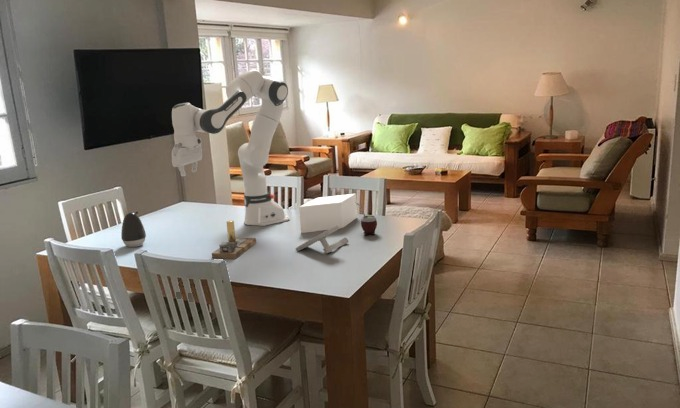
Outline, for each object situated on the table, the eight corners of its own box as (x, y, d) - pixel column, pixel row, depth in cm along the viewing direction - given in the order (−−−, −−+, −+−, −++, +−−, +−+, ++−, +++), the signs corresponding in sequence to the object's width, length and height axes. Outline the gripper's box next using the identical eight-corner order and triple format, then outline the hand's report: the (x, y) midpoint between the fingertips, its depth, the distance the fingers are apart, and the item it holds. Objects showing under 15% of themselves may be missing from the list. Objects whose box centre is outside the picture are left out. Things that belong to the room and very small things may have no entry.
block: (369, 220, 275) (368, 195, 272) (313, 236, 253) (311, 209, 250) (345, 215, 288) (344, 191, 285) (289, 230, 266) (287, 204, 263)
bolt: (232, 243, 239) (229, 219, 237) (238, 243, 238) (236, 219, 236) (221, 250, 230) (219, 226, 227) (228, 250, 229) (226, 226, 227)
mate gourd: (380, 233, 251) (379, 200, 248) (369, 237, 245) (367, 204, 242) (367, 231, 256) (366, 198, 253) (356, 235, 250) (354, 202, 247)
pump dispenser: (151, 242, 257) (147, 209, 254) (139, 249, 247) (134, 215, 244) (131, 241, 259) (126, 209, 256) (118, 248, 249) (113, 215, 246)
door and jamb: (234, 242, 250) (233, 231, 249) (255, 242, 247) (255, 231, 246) (212, 258, 229) (210, 246, 228) (235, 258, 226) (233, 246, 225)
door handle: (304, 265, 232) (337, 248, 220) (295, 248, 233) (327, 229, 220) (329, 252, 246) (361, 235, 234) (320, 236, 246) (352, 218, 234)
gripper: (179, 144, 230) (183, 178, 233) (203, 138, 250) (206, 170, 253) (165, 145, 232) (169, 178, 235) (190, 139, 251) (193, 170, 254)
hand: (189, 174), depth 244 cm, fingers open, 8 cm apart
